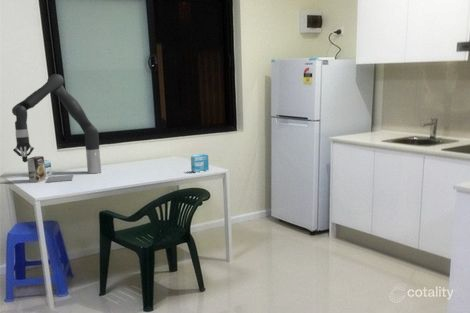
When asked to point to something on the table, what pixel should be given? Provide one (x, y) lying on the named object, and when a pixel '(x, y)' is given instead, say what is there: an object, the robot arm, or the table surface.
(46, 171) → the light bulb box
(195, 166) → the data package
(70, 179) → the mat
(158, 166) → the table surface
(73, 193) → the table surface
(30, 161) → the coffee box
